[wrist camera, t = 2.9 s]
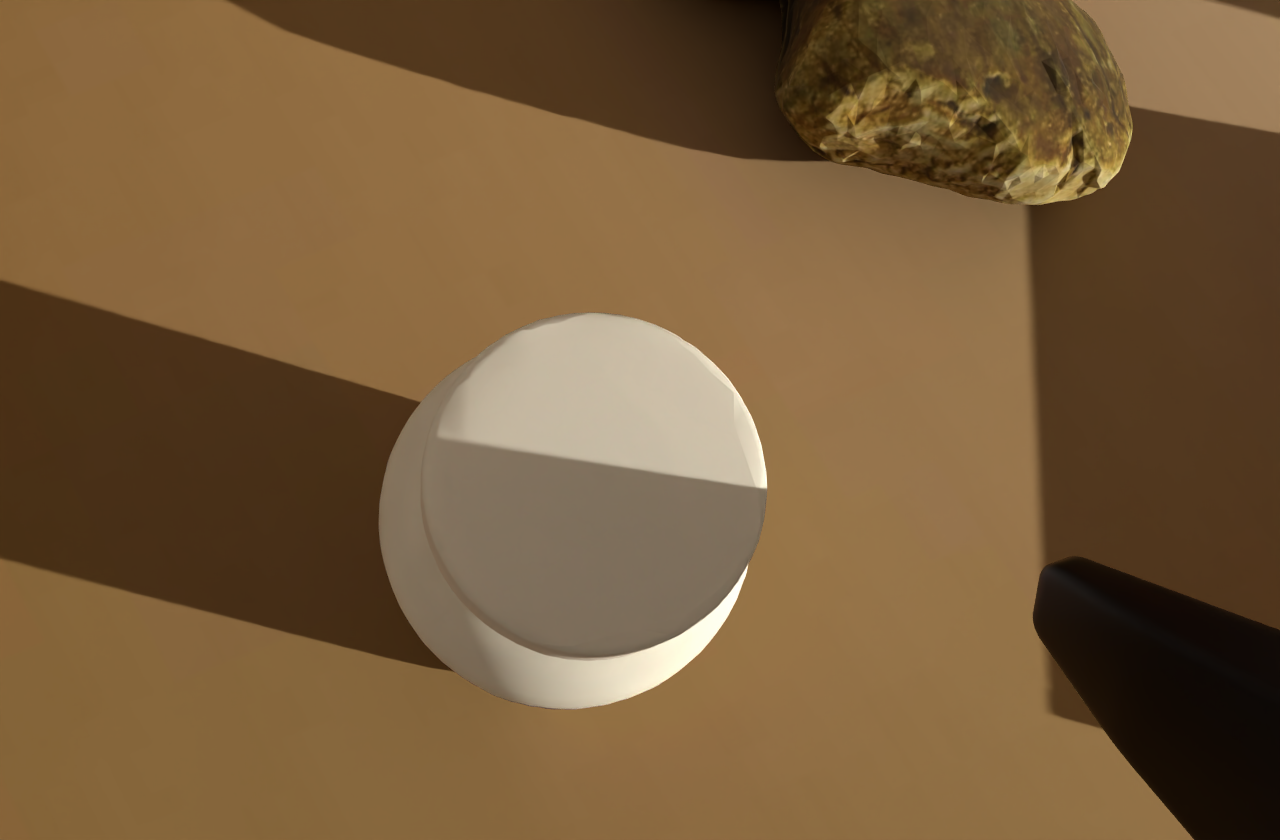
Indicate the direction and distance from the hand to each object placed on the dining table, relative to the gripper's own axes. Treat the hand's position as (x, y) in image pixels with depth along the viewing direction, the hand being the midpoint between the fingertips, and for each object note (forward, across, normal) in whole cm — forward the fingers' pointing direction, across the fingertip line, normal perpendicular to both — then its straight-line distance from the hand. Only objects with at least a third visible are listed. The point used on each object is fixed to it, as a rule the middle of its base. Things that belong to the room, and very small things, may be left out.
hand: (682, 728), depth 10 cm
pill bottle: (+9, 0, +5) cm, 10 cm away
